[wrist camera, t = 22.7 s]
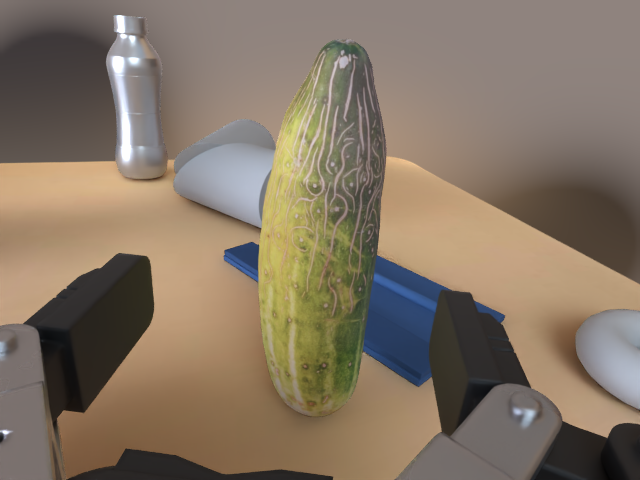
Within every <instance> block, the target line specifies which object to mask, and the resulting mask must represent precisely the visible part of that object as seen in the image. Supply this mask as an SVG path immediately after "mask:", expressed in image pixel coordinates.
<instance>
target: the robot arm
mask: <svg viewBox="0 0 640 480" xmlns="http://www.w3.org/2000/svg"><path fill="white" fill-rule="evenodd" d="M153 313H154V298H153V287H152V276H151V265H150V261H149V259H148V257H147V256H141V255H132V254H123V253H118V254H117V255H115V256H114V257H113V258H112V259H111V260H110V261H108V262H107V263H106V264H105V265H104V266H103V267H102V268H100V269H99V268H97V269H94V270H92V271H90V272H88V273H86V274H83V275H81V276H79V277H78V278H77V279H76V280H74V281H73V282H72V283H71V284H70V285H68V286H67V289H64V290H63V291H61V292H60V293H59V294H58V295H57V297H56V298H53V299H52V300H51V301H49V302H48V303H47V304H46V305H45V306H44V307H42V308H41V309H40V310H39V311H38V312H36V313H35V314H34V315H33V316H32V317H31V318H29V319H28V320H27V321H26V322H25V323H23V324H8V325H2V326H0V480H66V473H65V466H64V459H63V452H62V445H61V438H60V430H59V425H58V420H57V418H58V416H59V415H60V414H61V413H62V411H63V410H66V411H74V412H82V413H84V412H85V411H86V410H87V408H88V407H89V406H90V404H91V403H92V402H93V400H94V399H95V398H96V396H97V395H98V394H99V392H100V391H101V390H102V388H103V387H104V386H105V384H106V383H107V382H108V380H109V379H110V378H111V376H112V375H113V374H114V372H115V371H116V370H117V368H118V367H119V366H120V364H121V363H122V362H123V360H124V359H125V358H126V356H127V355H128V354H129V352H130V351H131V350H132V348H133V347H134V346H135V344H136V343H137V342H138V340H139V339H140V338H141V336H142V335H143V334H144V332H145V331H146V329H147V328H148V327H149V325H150V323H151V320H152V317H153ZM429 363H430V368H431V374H432V379H433V385H434V390H435V396H436V401H437V406H438V412H439V417H440V423H441V428H442V432H440V433H438V434H437V435H436V436H435V437H434V438H433V439H432V440H431V441H430V442H429V443H428V444H427V445H426V446H425V447H424V448H423V450H422V451H421V452H420V453H419V454H418V455H417V456H416V457H415V458H414V459H413V460H412V461H411V463H410V464H409V465H408V466H407V467H406V468H405V469H404V470H403V471H402V472H401V473H400V475H399V476H398V477H397V478H396V479H395V480H640V425H639V424H632V423H623V424H619V425H616V426H615V427H614V428H612V430H611V432H610V434H609V436H608V438H606V437H603V436H600V435H597V434H594V433H592V432H589V431H586V430H583V429H580V428H577V427H575V426H572V425H570V424H568V423H566V422H564V421H562V416H561V413H560V411H559V410H558V408H557V407H556V406H555V404H554V403H553V402H552V401H551V400H549V399H548V398H547V397H546V396H544V395H543V394H541V393H539V392H538V391H536V390H534V389H531V386H530V384H529V382H528V380H527V378H526V376H525V373H524V371H523V369H522V367H521V365H520V362H519V360H518V358H517V356H516V354H515V353H514V349H513V347H512V345H511V343H510V342H509V338H508V336H507V334H506V332H505V329H504V327H503V325H502V324H500V323H499V322H498V321H497V320H496V319H495V318H494V317H493V316H492V315H491V314H490V313H482V312H478V310H477V307H476V305H475V302H474V300H473V297H472V295H471V293H469V292H460V291H451V290H441V292H440V294H439V297H438V302H437V307H436V312H435V316H434V321H433V326H432V331H431V336H430V342H429ZM67 480H333V477H332V476H325V475H317V474H310V473H303V472H295V471H288V470H271V471H260V472H249V473H239V474H221V473H218V472H216V471H213V470H211V469H208V468H206V467H203V466H201V465H198V464H196V463H193V462H191V461H189V460H186V459H184V458H181V457H179V456H176V455H170V454H163V453H155V452H148V451H141V450H133V449H125V451H124V452H123V454H122V456H121V457H120V459H119V461H118V463H117V464H116V466H109V467H104V468H99V469H95V470H91V471H88V472H84V473H81V474H79V475H76V476H74V477H71V478H69V479H67Z"/></svg>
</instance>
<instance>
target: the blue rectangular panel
mask: <svg viewBox="0 0 640 480" xmlns="http://www.w3.org/2000/svg"><path fill="white" fill-rule="evenodd" d="M258 257H259V245H257V244H255V243H253V242H250V243H247V244H244V245H240V246H237V247H234V248H230V249H227V250H225V255H224V260H225V261H227V262H228V263H230V264H231V265H233V266H234V267H236V268H237V269H239V270H240V271H242V272H243V273H245V274H246V275H248V276H250V277H251V278H253V279H254V280H256V281H257V282H258V275H259V272H258ZM441 290H450V289H448V288H446V287H444V286H442V285H439V284H437V283H435V282H433V281H431V280H429V279H427V278H425V277H422V276H420V275H418V274H416V273H414V272H412V271H410V270H408V269H405V268H403V267H401V266H399V265H397V264H395V263H393V262H390V261H388V260H386V259H384V258H382V257H380V256H378V255H377V257H376V263H375V270H374V278H373V284H372V289H371V295H370V302H369V309H368V318H367V323H366V328H365V336H364V345H363V351H364V352H366V353H367V354H369V355H370V356H372V357H373V358H375V359H376V360H378V361H380V362H381V363H383V364H384V365H386V366H387V367H389V368H390V369H392V370H393V371H395V372H396V373H398V374H399V375H401V376H402V377H404V378H406V379H407V380H409V381H410V382H412V383H413V384H415V385H416V386H418V387H419V386H420V385H421V384H423V383H424V382H425V381H426V380H428V379H429V378H430V377H432V374H431V368H430V363H429V342H430V336H431V331H432V326H433V321H434V316H435V312H436V307H437V302H438V297H439V294H440V292H441ZM451 291H452V290H451ZM474 302H475V305H476V307H477V310H478V312H482V313H490V314H491V315H492V316H493V317H494V318H495V319H496V320H497V321H498V322H499V323H501V322H502V321H503V320H504V318H505V315H503V314H501V313H499V312H497V311H495V310H493V309H491V308H488V307H486V306H484V305H482V304H480V303H478V302H476V301H474Z"/></svg>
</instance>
